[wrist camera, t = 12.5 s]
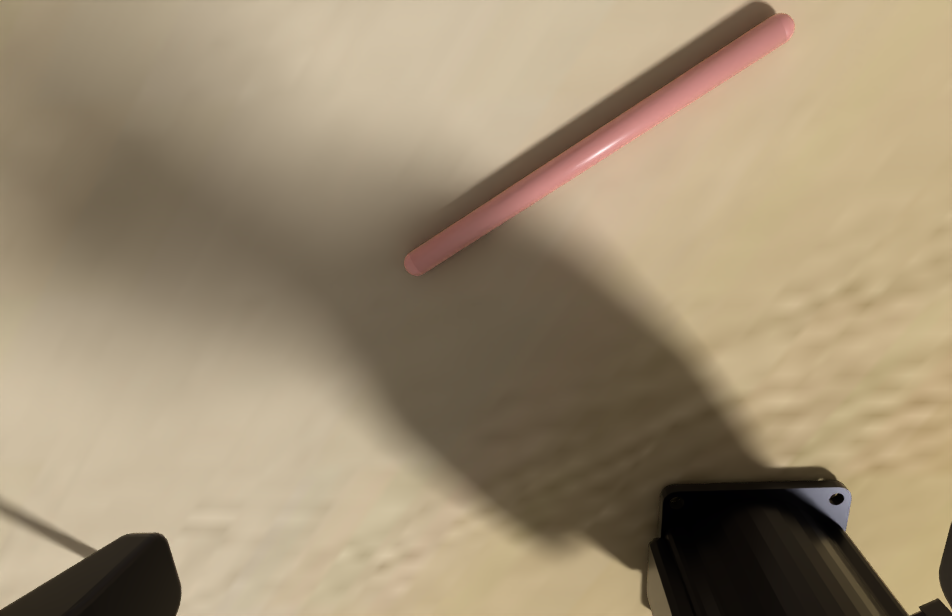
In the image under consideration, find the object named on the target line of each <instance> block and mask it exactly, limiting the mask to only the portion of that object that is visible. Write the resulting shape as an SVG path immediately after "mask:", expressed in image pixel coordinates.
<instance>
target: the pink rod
mask: <svg viewBox="0 0 952 616" xmlns="http://www.w3.org/2000/svg"><path fill="white" fill-rule="evenodd" d="M794 29H795V24H794V21H793V19H792V18H791V17H790V16H789V15H787V14H784V13H778V14H775V15H773V16H771V17H769V18H768V19H766V20H765V21H763V22H762V23H760V24H759V25H757V26H755V27H754V28H752V29H751V30H749V31H748V32H746V33H745V34H743V35H742V36H740V37H739V38H737V39H736V40H734V41H733V42H731V43H729V44H728V45H726V46H725V47H723V48H722V49H720V50H719V51H717V52H716V53H714V54H713V55H711V56H710V57H708V58H706V59H705V60H703V61H702V62H700V63H699V64H697V65H696V66H694V67H693V68H691V69H690V70H688V71H687V72H685V73H684V74H682V75H680V76H679V77H677V78H676V79H674V80H673V81H671V82H670V83H668V84H667V85H665V86H664V87H662V88H661V89H659V90H658V91H656V92H654V93H653V94H651V95H650V96H648V97H647V98H645V99H644V100H642V101H641V102H639V103H638V104H636V105H635V106H633V107H631V108H630V109H628V110H627V111H625V112H624V113H622V114H621V115H619V116H618V117H616V118H615V119H613V120H612V121H610V122H609V123H607V124H605V125H604V126H602V127H601V128H599V129H598V130H596V131H595V132H593V133H592V134H590V135H589V136H587V137H586V138H584V139H583V140H581V141H579V142H578V143H576V144H575V145H573V146H572V147H570V148H569V149H567V150H566V151H564V152H563V153H561V154H560V155H558V156H556V157H555V158H553V159H552V160H550V161H549V162H547V163H546V164H544V165H543V166H541V167H540V168H538V169H537V170H535V171H534V172H532V173H530V174H529V175H527V176H526V177H524V178H523V179H521V180H520V181H518V182H517V183H515V184H514V185H512V186H511V187H509V188H508V189H506V190H504V191H503V192H501V193H500V194H498V195H497V196H495V197H494V198H492V199H491V200H489V201H488V202H486V203H485V204H483V205H481V206H480V207H478V208H477V209H475V210H474V211H472V212H471V213H469V214H468V215H466V216H465V217H463V218H462V219H460V220H459V221H457V222H455V223H454V224H452V225H451V226H449V227H448V228H446V229H445V230H443V231H442V232H440V233H439V234H437V235H436V236H434V237H433V238H431V239H429V240H428V241H426V242H425V243H423V244H422V245H420V246H419V247H417V248H416V249H414V250H413V251H411V252H410V253H408V254H407V256H406V257H405V260H404V266H405V269H406V270H407V272H408V273H410V274H411V275H415V276H419V275H422V274H424V273H426V272H427V271H429V270H431V269H432V268H434V267H435V266H437V265H438V264H440V263H441V262H443V261H445V260H446V259H448V258H449V257H451V256H452V255H454V254H456V253H457V252H459V251H460V250H462V249H463V248H465V247H467V246H468V245H470V244H471V243H473V242H474V241H476V240H477V239H479V238H481V237H482V236H484V235H485V234H487V233H488V232H490V231H492V230H493V229H495V228H496V227H498V226H499V225H501V224H502V223H504V222H506V221H507V220H509V219H510V218H512V217H513V216H515V215H517V214H518V213H520V212H521V211H523V210H524V209H526V208H528V207H529V206H531V205H532V204H534V203H535V202H537V201H538V200H540V199H542V198H543V197H545V196H546V195H548V194H549V193H551V192H553V191H554V190H556V189H557V188H559V187H560V186H562V185H563V184H565V183H567V182H568V181H570V180H571V179H573V178H574V177H576V176H578V175H579V174H581V173H582V172H584V171H585V170H587V169H589V168H590V167H592V166H593V165H595V164H596V163H598V162H599V161H601V160H603V159H604V158H606V157H607V156H609V155H610V154H612V153H614V152H615V151H617V150H618V149H620V148H621V147H623V146H625V145H626V144H628V143H629V142H631V141H632V140H634V139H635V138H637V137H639V136H640V135H642V134H643V133H645V132H646V131H648V130H650V129H651V128H653V127H654V126H656V125H657V124H659V123H660V122H662V121H664V120H665V119H667V118H668V117H670V116H671V115H673V114H675V113H676V112H678V111H679V110H681V109H682V108H684V107H686V106H687V105H689V104H690V103H692V102H693V101H695V100H696V99H698V98H700V97H701V96H703V95H704V94H706V93H707V92H709V91H711V90H712V89H714V88H715V87H717V86H718V85H720V84H721V83H723V82H725V81H726V80H728V79H729V78H731V77H732V76H734V75H736V74H737V73H739V72H740V71H742V70H743V69H745V68H747V67H748V66H750V65H751V64H753V63H754V62H756V61H757V60H759V59H761V58H762V57H764V56H765V55H767V54H768V53H770V52H772V51H773V50H775V49H776V48H778V47H779V46H781V45H782V44H784V43H786V42H787V41H788V40H789V39H790V38H791V36H792V35H793V33H794Z"/></svg>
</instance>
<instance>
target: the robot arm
mask: <svg viewBox="0 0 952 616" xmlns="http://www.w3.org/2000/svg"><path fill="white" fill-rule="evenodd" d="M836 493H838V494H837V495H836V496H835V497H832V498H830V497H831V496H832V495H833V494H836ZM676 497H679V498H680V499H679V500H678V501H675V502H671V500H672V499H673V498H676ZM850 504H851V493H850V492H849V490H848V489H847V488H846V487H845V486H844V484H843V483H841V482H839V481H835V480H823V481H785V482H748V483H710V484H674V485H669V486H667V487H666V488H664V489H663V490H662V492H661V494H660V503H659V523H658V538H653V540H652V541H651V542H650V543H649V551H648V573H647V597H648V601H649V604H650V608H651V611H652V615H653V616H909V615H908V613H907V612H906V611H905V609H904V608H903V607H902V605H901V604H900V603H899V601H898V600H897V599H896V598H895V596H894V595H893V594H892V592H891V591H890V590H889V588H888V587H887V586H886V584H885V583H884V582H883V580H882V579H881V578H880V577H879V575H878V574H877V573H876V571H875V570H874V569H873V567H872V566H871V565H870V563H869V562H868V561H867V560H866V558H865V557H864V556H863V554H862V553H861V552H860V550H859V549H858V548H857V546H856V545H855V544H854V543H853V541H852V540H851V539H850V537H849V536H848V535H847V533H846V526H847V521H848V515H849V510H850ZM939 580H940V585H941V588H942V591H943V593H944V595H945V597H946V599H947V601H948V603H949V604H950V606H951V608H952V523H951V525H950V529H949V533H948V537H947V541H946V545H945V549H944V553H943V556H942V560H941V564H940V569H939ZM180 601H181V584H180V580H179V577H178V573H177V570H176V567H175V563H174V560H173V557H172V553H171V550H170V547H169V543H168V541H167V539H166V538H165V537H164V536H163V535H162V534H159V533H131V534H126V535H124V536H122V537H120V538H118V539H117V540H115V541H113V542H112V543H110V544H108V545H107V546H105V547H103V548H102V549H100V550H98V551H97V552H95V553H93V554H92V555H90V556H89V557H87V558H85V559H84V560H82V561H80V562H79V563H77V564H75V565H74V566H72V567H70V568H69V569H67V570H65V571H64V572H62V573H61V574H59V575H57V576H56V577H54V578H52V579H51V580H49V581H47V582H46V583H44V584H42V585H41V586H39V587H37V588H36V589H34V590H33V591H31V592H29V593H28V594H26V595H24V596H23V597H21V598H19V599H18V600H16V601H14V602H13V603H11V604H9V605H8V606H6V607H5V608H3V609H1V610H0V616H176V614H177V612H178V609H179V605H180ZM919 608H920V610H921V611H919V612H917V613H914V614H912V615H910V616H952V613H951V611H950V610H949V609H948V608H947V607H946V606H945V605H944V604H943V603H942V602H941V601H940V600H939V599H935V600H933V601H931V602H929V603H926V604H924V605H922V606H920V607H919Z"/></svg>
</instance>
